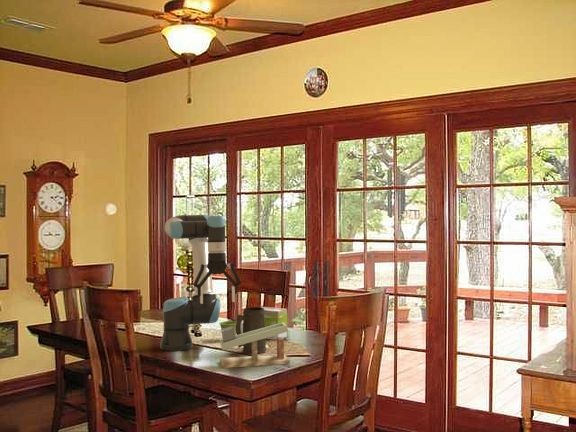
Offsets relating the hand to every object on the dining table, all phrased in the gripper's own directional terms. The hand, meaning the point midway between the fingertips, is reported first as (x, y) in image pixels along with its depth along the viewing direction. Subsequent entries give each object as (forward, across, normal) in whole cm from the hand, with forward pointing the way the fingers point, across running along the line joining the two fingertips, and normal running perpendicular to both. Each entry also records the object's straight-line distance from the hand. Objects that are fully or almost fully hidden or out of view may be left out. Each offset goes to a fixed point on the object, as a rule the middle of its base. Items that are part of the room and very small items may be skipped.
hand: (217, 302), depth 260 cm
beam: (+15, +14, -5) cm, 22 cm away
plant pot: (+25, +13, +46) cm, 54 cm away
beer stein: (+25, +17, +15) cm, 34 cm away
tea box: (+25, +34, +45) cm, 62 cm away
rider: (+16, +4, -4) cm, 18 cm away
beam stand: (+25, +14, -5) cm, 30 cm away
